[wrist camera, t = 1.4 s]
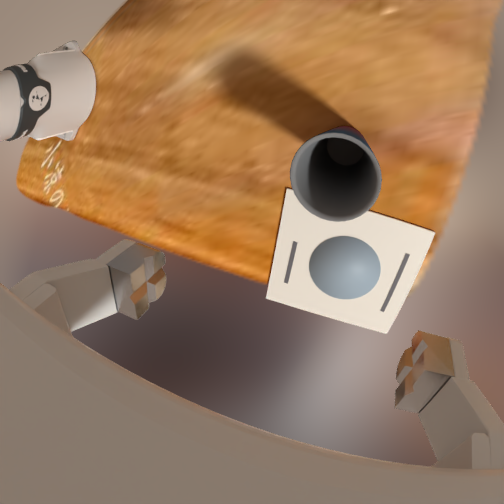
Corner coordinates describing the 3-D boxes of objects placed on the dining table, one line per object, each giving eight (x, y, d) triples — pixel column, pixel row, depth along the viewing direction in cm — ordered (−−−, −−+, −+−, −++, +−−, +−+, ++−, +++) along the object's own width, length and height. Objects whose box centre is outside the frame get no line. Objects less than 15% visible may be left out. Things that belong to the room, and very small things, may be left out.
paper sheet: (266, 297, 48) (265, 298, 48) (287, 188, 39) (286, 188, 38) (386, 332, 44) (386, 334, 44) (434, 231, 34) (435, 233, 34)
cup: (366, 113, 31) (370, 124, 19) (379, 169, 34) (388, 215, 21) (310, 124, 34) (279, 143, 22) (325, 178, 37) (302, 227, 24)
